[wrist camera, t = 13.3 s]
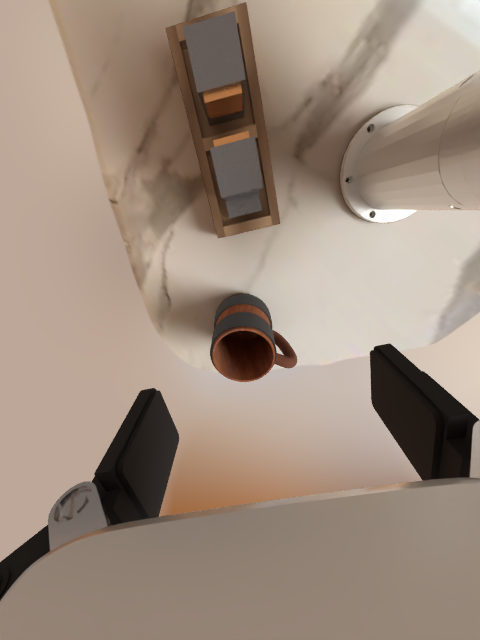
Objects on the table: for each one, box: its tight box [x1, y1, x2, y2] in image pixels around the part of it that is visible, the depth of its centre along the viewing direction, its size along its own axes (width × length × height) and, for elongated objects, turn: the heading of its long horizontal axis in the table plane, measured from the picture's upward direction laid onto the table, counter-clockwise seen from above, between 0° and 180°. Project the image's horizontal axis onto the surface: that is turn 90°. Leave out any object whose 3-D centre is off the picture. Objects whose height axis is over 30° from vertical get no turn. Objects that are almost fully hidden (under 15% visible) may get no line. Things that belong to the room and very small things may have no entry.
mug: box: [210, 294, 297, 382], centre depth 35 cm, size 9×12×12 cm
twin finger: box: [210, 131, 263, 218], centre depth 27 cm, size 4×7×9 cm, turn 13°
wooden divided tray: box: [166, 2, 280, 238], centre depth 30 cm, size 8×20×4 cm, turn 13°
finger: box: [183, 11, 246, 126], centre depth 24 cm, size 4×7×9 cm, turn 12°
